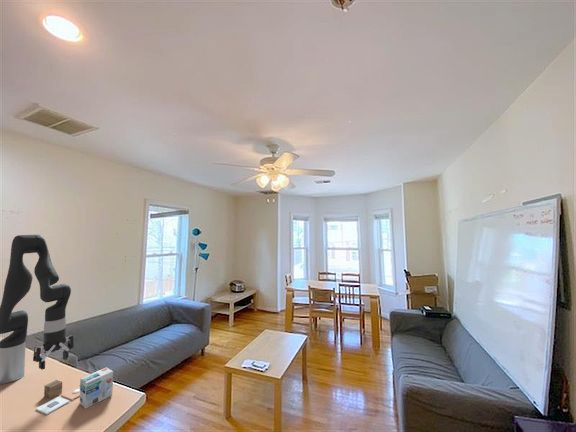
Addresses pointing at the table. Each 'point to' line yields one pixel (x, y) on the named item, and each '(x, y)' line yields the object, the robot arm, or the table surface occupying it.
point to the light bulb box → (96, 387)
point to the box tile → (52, 405)
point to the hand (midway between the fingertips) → (54, 364)
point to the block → (53, 389)
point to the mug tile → (72, 393)
